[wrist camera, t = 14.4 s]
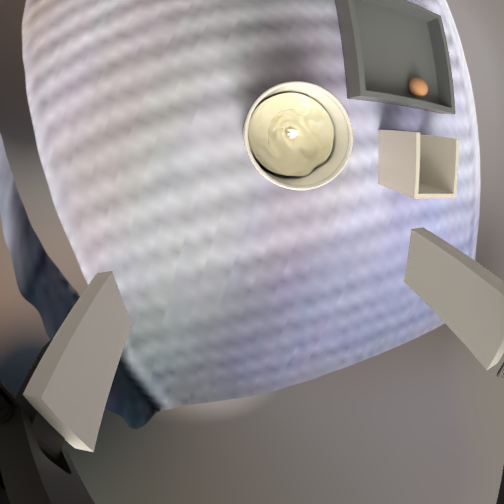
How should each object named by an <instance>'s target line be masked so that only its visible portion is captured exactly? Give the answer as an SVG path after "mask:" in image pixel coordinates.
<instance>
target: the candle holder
mask: <svg viewBox="0 0 504 504" xmlns="http://www.w3.org/2000/svg"><path fill="white" fill-rule="evenodd" d="M243 142H244V146H245V148H246V150H247V153H248V156H249V158H250V160H251V162H252V163H253V165H254V166H255V168H256V169H257V170H258V171H259V172H260V173H261V174H262V175H263V176H264V177H265V178H266V179H268V180H269V181H271V182H272V183H274V184H276V185H278V186H281V187H284V188H287V189H292V190H309V189H314V188H317V187H320V186H323V185H325V184H327V183H328V182H330V181H331V180H333V179H334V178H335V177H336V176H337V175H338V174H339V173H340V172H341V171H342V170H343V168H344V167H345V165H346V164H347V162H348V160H349V157H350V154H351V151H352V146H353V129H352V124H351V120H350V118H349V115H348V113H347V111H346V109H345V108H344V106H343V105H342V103H341V102H340V101H339V100H338V99H337V98H336V97H335V96H334V95H333V94H332V93H330V92H329V91H328V90H326V89H324V88H322V87H320V86H318V85H316V84H312V83H309V82H303V81H291V82H285V83H281V84H278V85H275V86H273V87H271V88H270V89H268V90H266V91H265V92H264V93H262V94H261V95H260V96H259V97H258V98H257V99H256V101H255V102H254V103H253V105H252V106H251V108H250V110H249V112H248V114H247V117H246V121H245V124H244V127H243Z"/></svg>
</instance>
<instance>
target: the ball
mask: <svg viewBox="0 0 504 504" xmlns="http://www.w3.org/2000/svg"><path fill="white" fill-rule="evenodd" d="M409 89H410V91H411V93H412V94H413V95H415V96H417V97H423V96H425V95H426V94H427V92H428V86H427V84H426V82H425V81H424V80H422V79H421V78H413V79H411V80H410V82H409Z"/></svg>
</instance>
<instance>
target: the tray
mask: <svg viewBox="0 0 504 504" xmlns="http://www.w3.org/2000/svg"><path fill="white" fill-rule="evenodd" d="M335 4H336V9H337V15H338V21H339V27H340V33H341V40H342V48H343V56H344V65H345V75H346V86H347V99H357V100H366V101H374V102H382V103H389V104H395V105H401V106H406V107H412V108H417V109H422V110H427V111H431V112H435V113H441V114H455V101H454V89H453V80H452V72H451V65H450V58H449V52H448V47H447V42H446V37H445V32H444V28H443V24H442V20H441V16H440V15H437V14H435V13H433V12H431V11H429V10H426V9H424V8H422V7H419V6H417V5H414V4H412V3H409V2H407V1H404V0H335ZM413 78H421V79H422V80H424V81H425V82H426V84H427V86H428V92H427V94H426V95H425V96H423V97H417V96H415V95H413V94H412V93H411V91H410V89H409V82H410V80H411V79H413Z"/></svg>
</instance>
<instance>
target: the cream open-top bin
mask: <svg viewBox="0 0 504 504" xmlns="http://www.w3.org/2000/svg"><path fill="white" fill-rule="evenodd" d="M378 144H379V165H378V184H380V185H382V186H385V187H387V188H390V189H392V190H395V191H397V192H400V193H402V194H404V195H407V196H409V197H412V198H414V199H422V198H456V189H457V177H458V158H459V139H453V138H446V137H439V136H431V135H422V134H420V133H419V132H408V131H394V130H378Z"/></svg>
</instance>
